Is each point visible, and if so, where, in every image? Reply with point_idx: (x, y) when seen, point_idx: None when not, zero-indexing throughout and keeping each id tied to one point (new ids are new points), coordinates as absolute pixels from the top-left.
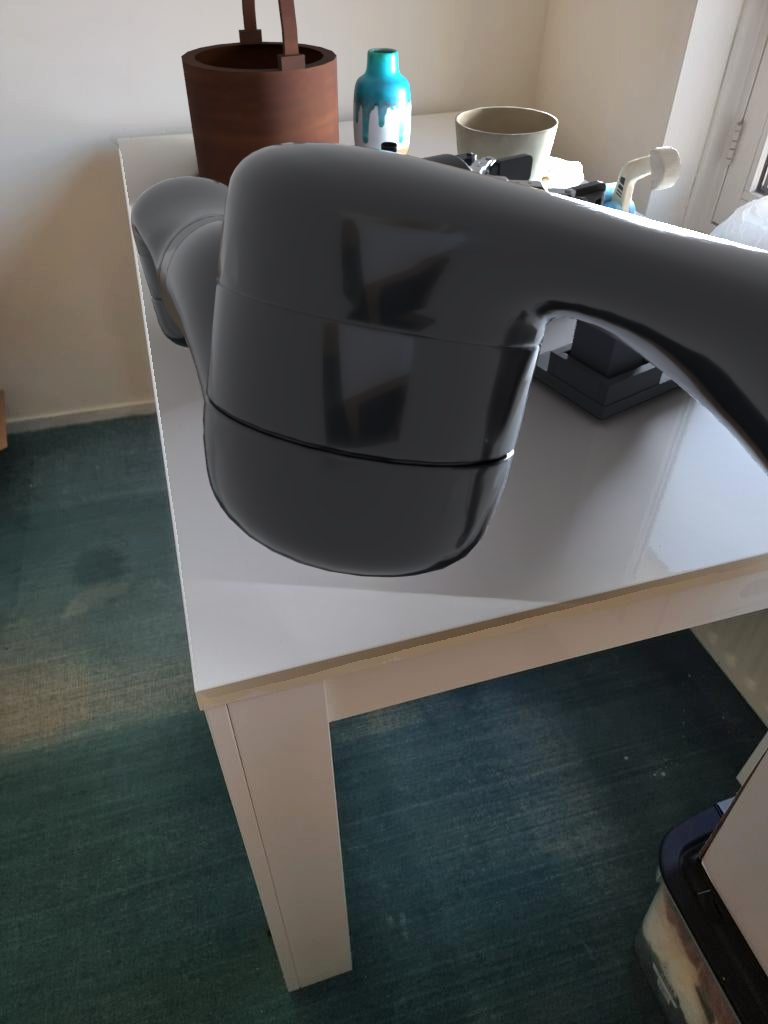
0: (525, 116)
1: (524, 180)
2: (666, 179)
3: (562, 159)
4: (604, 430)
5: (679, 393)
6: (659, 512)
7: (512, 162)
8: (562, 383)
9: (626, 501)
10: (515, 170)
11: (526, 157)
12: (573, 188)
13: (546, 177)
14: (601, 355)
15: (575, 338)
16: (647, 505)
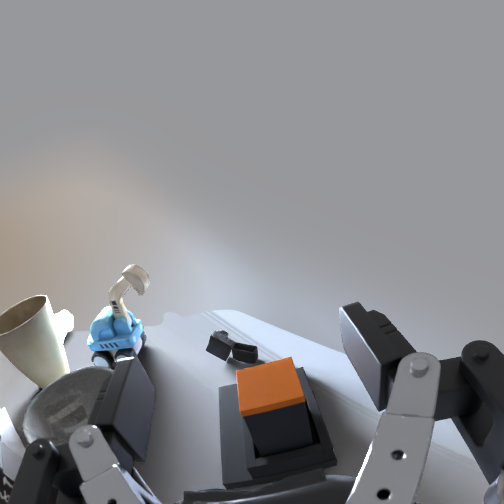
0: (25, 305)
1: (363, 464)
2: (145, 284)
3: (55, 314)
4: (352, 468)
5: (319, 394)
6: (469, 456)
7: (125, 400)
8: (279, 475)
9: (454, 477)
10: (136, 404)
11: (131, 367)
12: (389, 353)
13: None
14: (298, 436)
15: (258, 444)
16: (460, 463)
